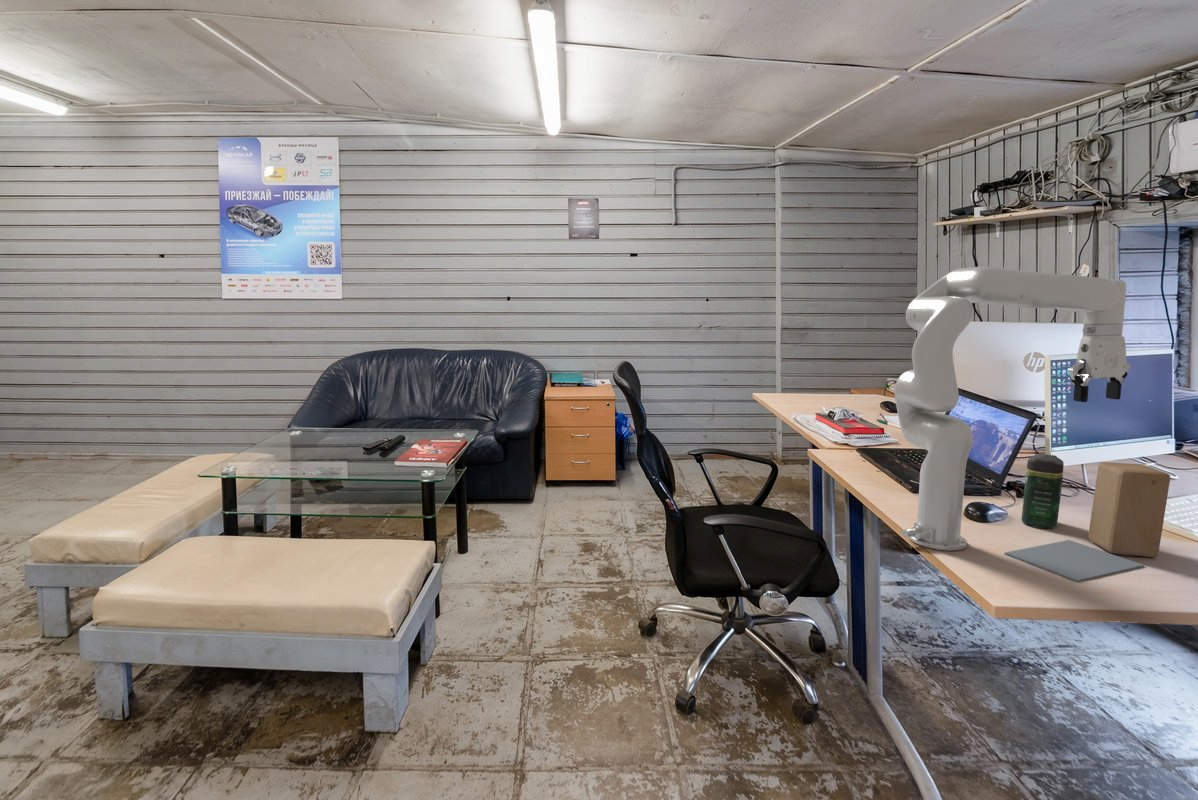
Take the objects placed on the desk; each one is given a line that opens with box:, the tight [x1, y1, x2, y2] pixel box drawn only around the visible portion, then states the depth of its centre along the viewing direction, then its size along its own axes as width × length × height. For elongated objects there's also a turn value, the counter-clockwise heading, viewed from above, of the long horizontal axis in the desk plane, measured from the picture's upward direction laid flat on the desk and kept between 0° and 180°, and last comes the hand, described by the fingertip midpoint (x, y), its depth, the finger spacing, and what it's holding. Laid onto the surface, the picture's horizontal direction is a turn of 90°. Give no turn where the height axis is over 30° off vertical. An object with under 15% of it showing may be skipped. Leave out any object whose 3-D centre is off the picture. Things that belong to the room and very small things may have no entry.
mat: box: [1004, 539, 1145, 583], centre depth 142 cm, size 22×16×1 cm
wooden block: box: [1087, 461, 1171, 558], centre depth 146 cm, size 10×10×20 cm
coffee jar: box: [1021, 453, 1064, 529], centre depth 164 cm, size 10×8×19 cm
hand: (1096, 400), depth 154 cm, fingers open, 9 cm apart
